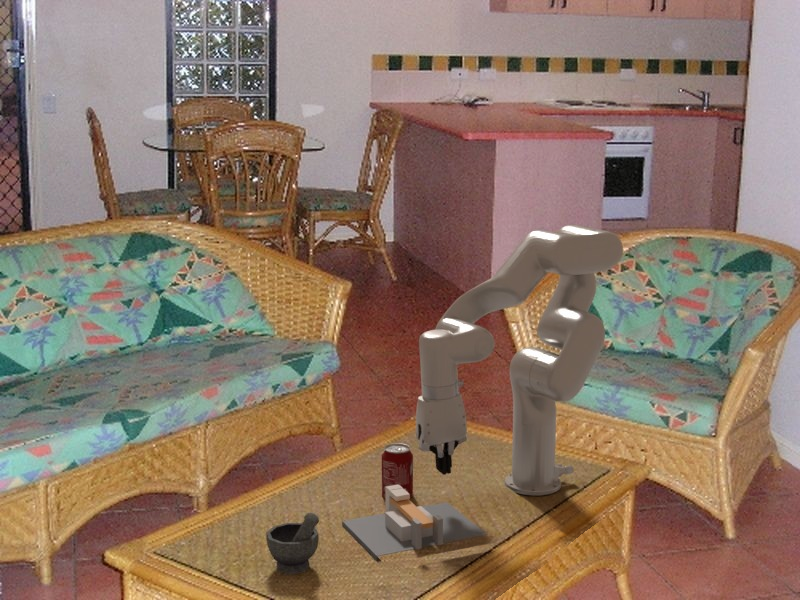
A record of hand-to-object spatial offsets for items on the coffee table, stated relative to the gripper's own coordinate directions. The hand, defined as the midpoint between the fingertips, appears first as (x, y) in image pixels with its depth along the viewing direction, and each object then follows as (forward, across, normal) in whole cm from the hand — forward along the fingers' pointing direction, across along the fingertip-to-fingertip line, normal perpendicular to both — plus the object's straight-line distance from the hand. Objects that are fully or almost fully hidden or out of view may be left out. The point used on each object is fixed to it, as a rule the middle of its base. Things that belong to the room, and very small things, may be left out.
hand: (444, 471), depth 243 cm
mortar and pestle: (+6, +38, +13) cm, 41 cm away
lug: (+6, +12, +2) cm, 14 cm away
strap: (+3, +12, +9) cm, 15 cm away
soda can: (+8, +7, -9) cm, 14 cm away
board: (+8, +11, +8) cm, 16 cm away
